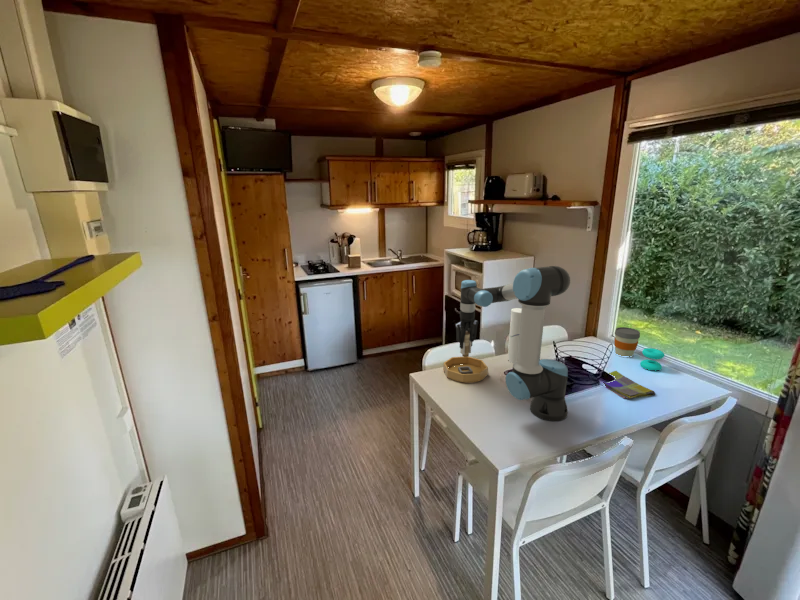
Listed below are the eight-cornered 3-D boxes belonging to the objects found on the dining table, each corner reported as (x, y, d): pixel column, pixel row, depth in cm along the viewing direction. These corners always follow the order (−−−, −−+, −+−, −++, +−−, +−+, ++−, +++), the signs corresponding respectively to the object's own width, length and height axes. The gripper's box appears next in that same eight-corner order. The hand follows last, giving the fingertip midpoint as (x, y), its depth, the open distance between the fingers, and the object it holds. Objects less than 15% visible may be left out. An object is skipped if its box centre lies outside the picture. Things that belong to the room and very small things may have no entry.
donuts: (647, 345, 207) (668, 351, 199) (644, 362, 210) (664, 368, 202) (639, 350, 201) (660, 356, 194) (636, 367, 204) (657, 373, 196)
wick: (469, 356, 196) (470, 333, 192) (463, 357, 195) (464, 333, 192) (467, 353, 199) (468, 331, 195) (461, 354, 199) (462, 331, 195)
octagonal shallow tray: (492, 381, 190) (492, 372, 189) (450, 384, 188) (450, 375, 187) (478, 363, 211) (478, 355, 210) (440, 365, 209) (440, 358, 207)
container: (525, 363, 210) (529, 312, 202) (509, 363, 210) (513, 312, 202) (520, 357, 218) (524, 308, 210) (506, 357, 218) (509, 308, 210)
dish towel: (616, 373, 198) (617, 369, 197) (657, 396, 175) (658, 391, 174) (588, 378, 194) (589, 373, 193) (627, 402, 171) (628, 396, 170)
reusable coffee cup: (640, 355, 218) (644, 331, 214) (629, 361, 212) (633, 336, 208) (619, 348, 228) (622, 325, 224) (607, 353, 222) (610, 329, 218)
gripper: (476, 306, 197) (474, 347, 203) (449, 310, 190) (448, 353, 197) (485, 310, 190) (482, 352, 197) (458, 314, 184) (456, 358, 190)
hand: (465, 352), depth 197 cm, fingers closed on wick, 3 cm apart
